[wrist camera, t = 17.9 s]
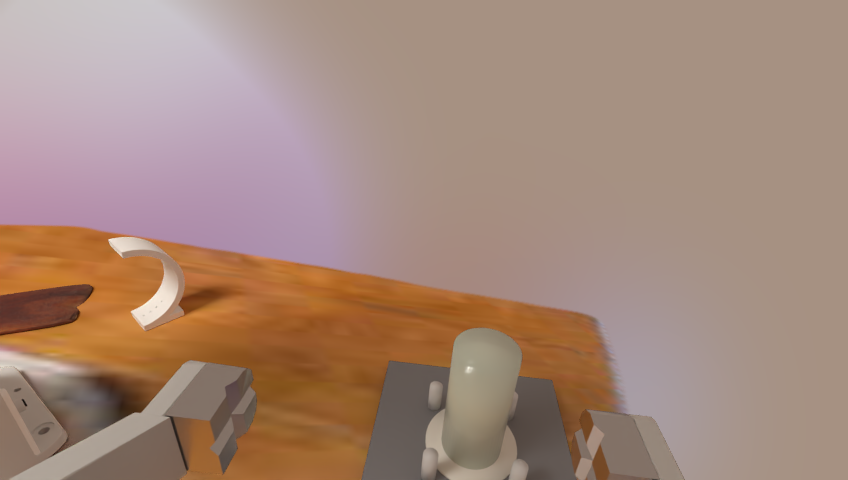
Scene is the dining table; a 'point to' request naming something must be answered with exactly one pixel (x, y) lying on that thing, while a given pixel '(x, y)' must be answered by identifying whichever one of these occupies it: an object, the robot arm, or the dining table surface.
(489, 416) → the canister
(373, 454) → the peg stand
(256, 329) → the dining table surface
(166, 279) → the headphone stand
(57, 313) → the wooden tablet
